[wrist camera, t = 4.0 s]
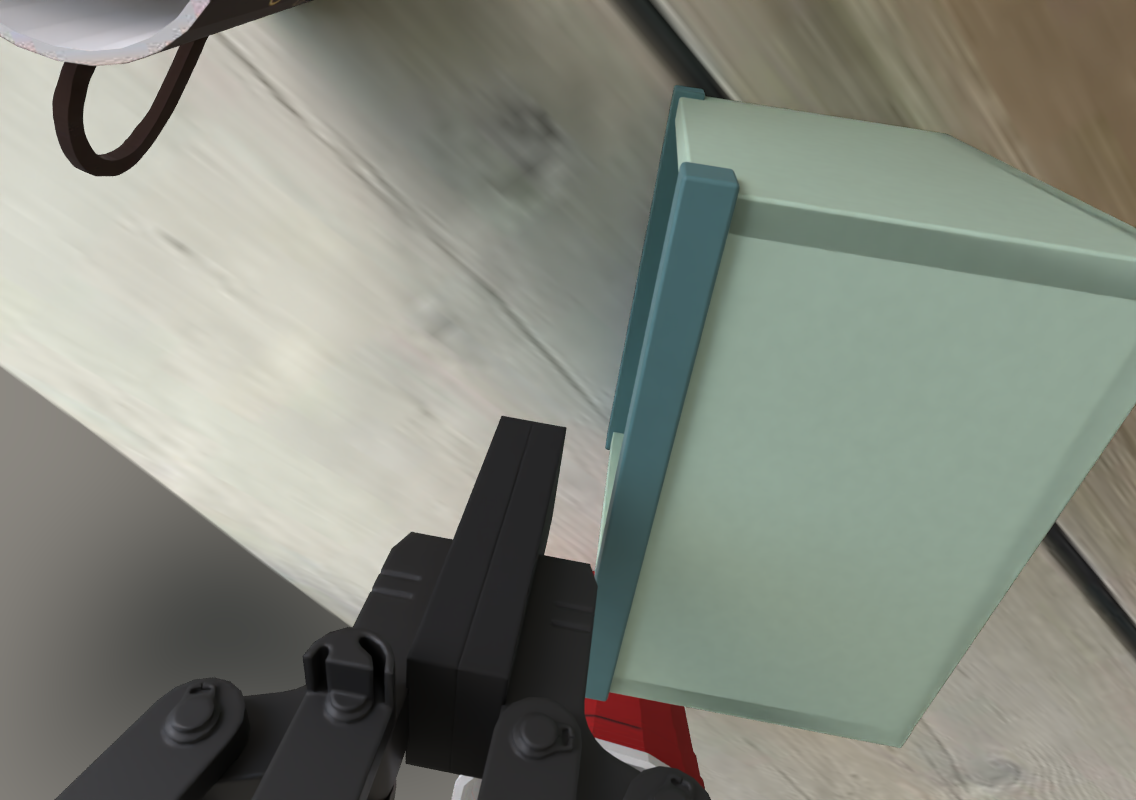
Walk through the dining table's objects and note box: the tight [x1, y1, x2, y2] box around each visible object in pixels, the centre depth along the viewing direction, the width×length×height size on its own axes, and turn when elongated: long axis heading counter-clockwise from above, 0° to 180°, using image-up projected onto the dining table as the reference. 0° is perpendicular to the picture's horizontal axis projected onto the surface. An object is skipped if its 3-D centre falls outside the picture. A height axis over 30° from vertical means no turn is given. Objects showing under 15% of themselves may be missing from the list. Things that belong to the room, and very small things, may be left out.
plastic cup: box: [451, 571, 705, 800], centre depth 31 cm, size 11×11×12 cm
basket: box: [585, 85, 1136, 748], centre depth 20 cm, size 14×9×13 cm, turn 173°
